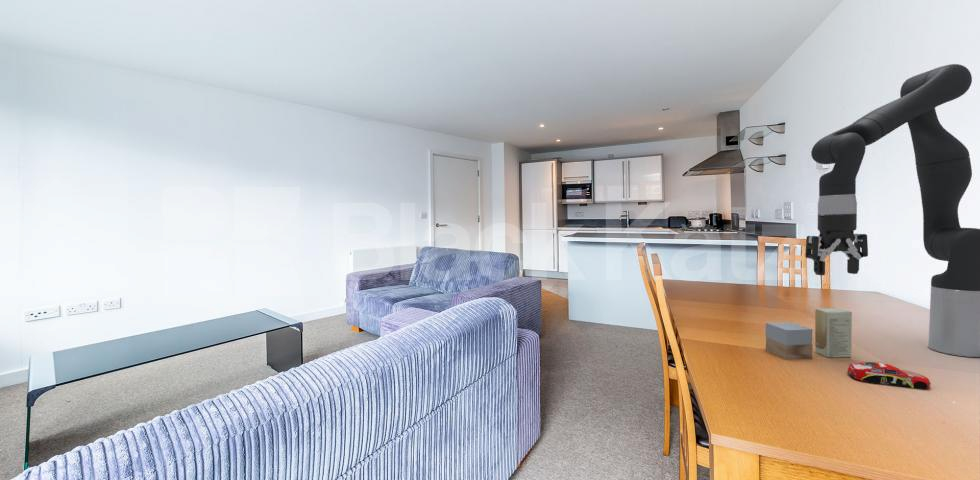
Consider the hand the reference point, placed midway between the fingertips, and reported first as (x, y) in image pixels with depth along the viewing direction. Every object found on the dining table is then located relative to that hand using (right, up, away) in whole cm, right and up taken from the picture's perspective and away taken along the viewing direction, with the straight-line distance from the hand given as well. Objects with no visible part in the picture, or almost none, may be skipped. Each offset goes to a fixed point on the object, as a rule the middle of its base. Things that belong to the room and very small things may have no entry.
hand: (836, 274), depth 99 cm
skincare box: (+1, -22, +2) cm, 22 cm away
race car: (-2, -23, -15) cm, 28 cm away
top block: (-10, -18, +3) cm, 21 cm away
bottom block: (-10, -22, +3) cm, 25 cm away
